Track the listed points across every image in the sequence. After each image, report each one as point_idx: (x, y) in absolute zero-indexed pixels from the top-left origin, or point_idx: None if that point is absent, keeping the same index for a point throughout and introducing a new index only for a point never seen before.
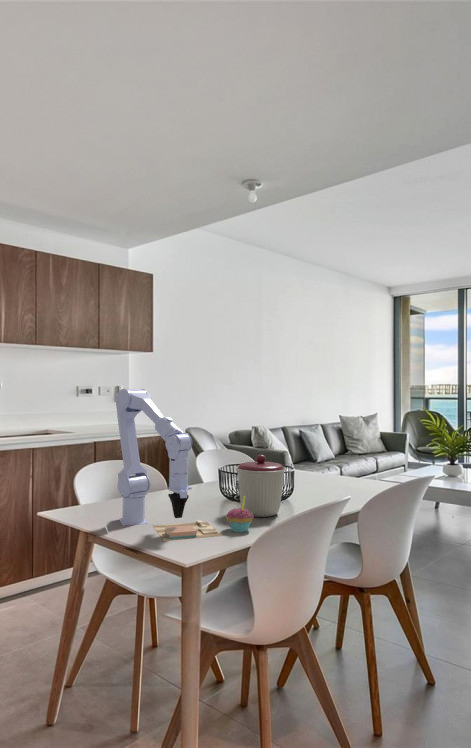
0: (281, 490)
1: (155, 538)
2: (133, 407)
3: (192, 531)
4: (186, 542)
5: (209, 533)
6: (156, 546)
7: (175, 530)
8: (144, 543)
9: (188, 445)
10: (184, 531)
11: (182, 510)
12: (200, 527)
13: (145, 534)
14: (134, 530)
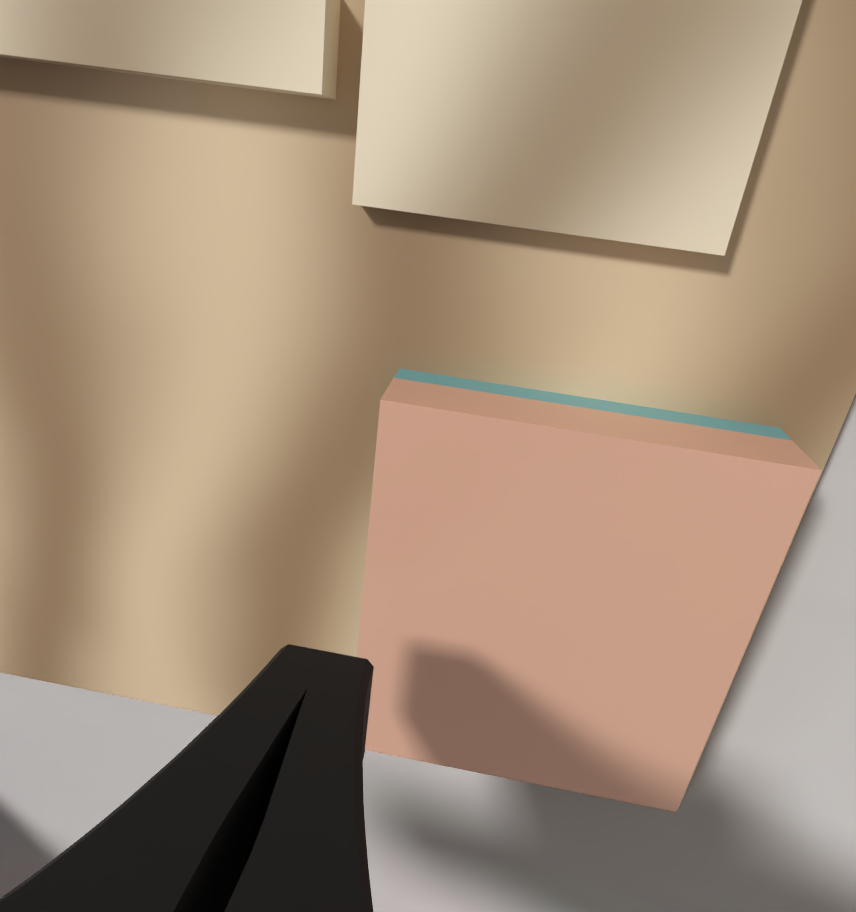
0: None
1: (471, 787)
2: None
3: (788, 533)
4: (841, 600)
5: (755, 129)
6: (762, 878)
7: (589, 715)
8: (593, 908)
9: None
10: (721, 642)
11: (352, 795)
12: (236, 105)
13: None
14: None
